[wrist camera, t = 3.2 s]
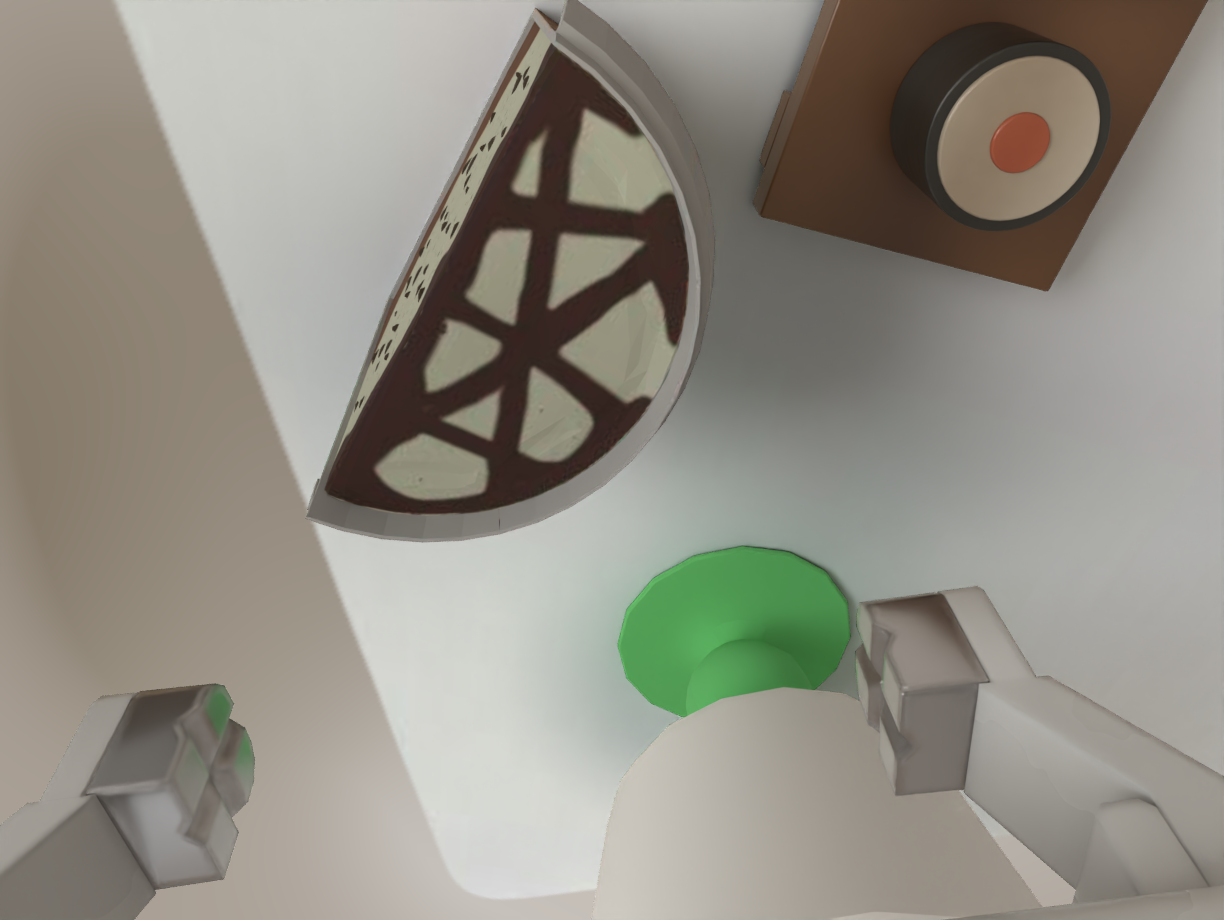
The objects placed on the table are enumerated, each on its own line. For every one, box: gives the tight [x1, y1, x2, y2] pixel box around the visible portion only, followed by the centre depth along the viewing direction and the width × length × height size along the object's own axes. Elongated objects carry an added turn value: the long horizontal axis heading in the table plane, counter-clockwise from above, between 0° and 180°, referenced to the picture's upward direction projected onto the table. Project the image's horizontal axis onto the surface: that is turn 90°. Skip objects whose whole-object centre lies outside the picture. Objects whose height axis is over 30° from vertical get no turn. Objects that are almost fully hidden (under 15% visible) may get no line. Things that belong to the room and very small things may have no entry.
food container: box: [306, 0, 715, 542], centre depth 24 cm, size 12×6×10 cm, turn 149°
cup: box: [591, 546, 1043, 920], centre depth 31 cm, size 14×14×16 cm
